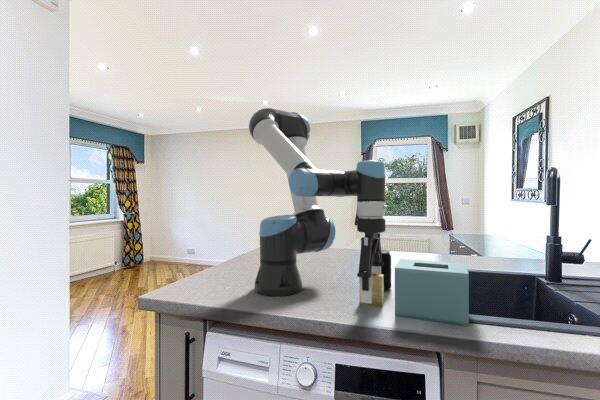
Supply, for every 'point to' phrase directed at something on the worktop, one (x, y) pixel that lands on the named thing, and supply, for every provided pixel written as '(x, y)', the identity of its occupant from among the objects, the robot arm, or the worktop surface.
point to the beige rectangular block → (375, 290)
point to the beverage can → (386, 269)
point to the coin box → (432, 291)
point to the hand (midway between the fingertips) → (371, 295)
